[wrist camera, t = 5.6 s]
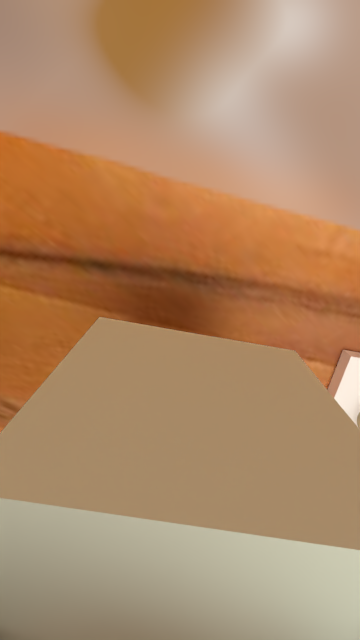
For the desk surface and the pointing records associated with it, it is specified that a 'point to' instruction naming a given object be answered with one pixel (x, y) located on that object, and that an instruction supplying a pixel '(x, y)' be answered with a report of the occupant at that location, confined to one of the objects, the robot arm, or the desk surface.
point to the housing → (179, 495)
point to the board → (347, 384)
